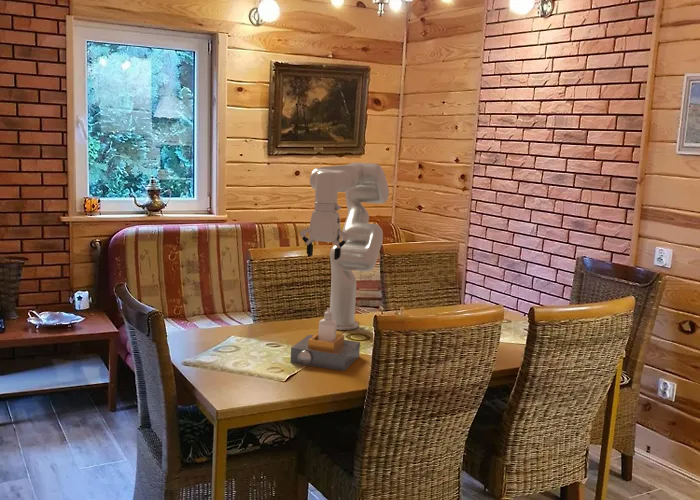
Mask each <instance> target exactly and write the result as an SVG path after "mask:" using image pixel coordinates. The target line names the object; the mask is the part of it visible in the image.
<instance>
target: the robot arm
mask: <svg viewBox="0 0 700 500" xmlns="http://www.w3.org/2000/svg"><path fill="white" fill-rule="evenodd" d="M309 184H310V186H311V188H312V189H313V190H315V192H314V210H312V213H311V217H310V221H309V222H310V223H309V227H307V228H305V229H302V230H301V231H299V233H300V236H301V238H302V241H303V242H304V243H305V245H306V254H307V258H310V257H312V256H313V255H314V254H313V253H314V245H313V243H314V241H315V242H317V241H318V242H325V243H333V246H332V247H331V249H330V253H329V260H330V267H331V268H330V270H331V274H330V275H331V277H330V278H331V280H330V282H331V284H330V299H329V301H330V302H329V303H330V304H329V308H330V312H332V320H334V321H335V322H336V323H337V326H336V331H337V330H339V331H348V330H350V331H351V330H354V329H355V330H356V329H357V328H358V327H359V323H358V321H356V320H355V314H356V298H357V297H356V296H357V295H356V294H357V279H356V277H355V274H354V273H353V271H358V272H366V273H367V272H371V271H373V270H374V269H375V266H376V264H377V261H378V258H379V254H380V250H381V248H382V244H383V237H384V233H383V229H382V227H381V226H380V225H378V224H376V223H369V220H370V215H369V213H368V211H367V209H366V208H365V206H364V205H363V204H362V203H364V204H365V203H366V204H377V205H378V204H384V203H386V202H387V201H388V199H389V195H390V189H389V184H388V181H387V178H386V175H385V171H384V169H383V168H382V166H381V165H380V164H378V163H372V162H370V163H368V162H351V163H348V164H343V165H341V164H339V165H331V166H329V165H328V166H320V167H316V168H314V169H313V170H312V171H311V173H310V176H309ZM338 193H344V194H345V195H344V196H345V202H346V208H347V217H346V219H345V222H344V225H343V228H342V230H341V217H340V212H337V211H341V209H342V207H341V205H338ZM307 233H308V236H307V235H306V234H307Z"/></svg>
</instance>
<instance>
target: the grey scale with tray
mask: <svg viewBox="0 0 700 500" xmlns="http://www.w3.org/2000/svg"><path fill="white" fill-rule="evenodd" d="M318 333H319V331H318V332H317V333H315V334H308V335H307V336H305V337H304V338H303V339H301V340H299V341H298V342H297V343H295V344H294V345H292V346H291V347H290V364H295V363H296V365H302V366H310V367H315V368H322V369H326V370H327V369H329V370H335V371H340V372H341V371H342V372H345V371H346V370H347V369H348V368H349V367H350V366H352V364H353V363H354V362H355V361H357V360H358V359H359V358H360V351H361V349H360V348H361V342H360V341H354V340H348V339H345V334H339V333H336V340H335V341H334V342H326V341H319V340H318Z"/></svg>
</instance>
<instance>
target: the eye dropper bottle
mask: <svg viewBox="0 0 700 500" xmlns="http://www.w3.org/2000/svg"><path fill="white" fill-rule="evenodd" d="M326 309H327V310H326V311H324V314H323V315H324V316H323V317H324V318H322V319H320V320H319V321H318V332H319V333H318V332H317V333H318V340H319V341H326V342H334V341H335V340H336V334H337V329H336V326H337V323H336V322H335V321H334V320H332V312H330V307H329V308H328V307H327V308H326Z"/></svg>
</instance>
